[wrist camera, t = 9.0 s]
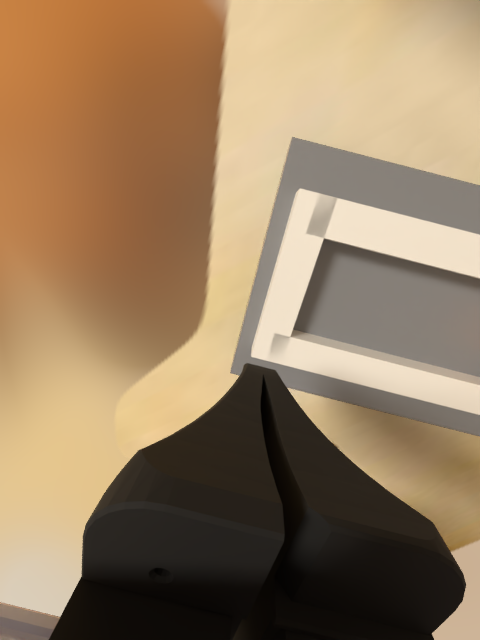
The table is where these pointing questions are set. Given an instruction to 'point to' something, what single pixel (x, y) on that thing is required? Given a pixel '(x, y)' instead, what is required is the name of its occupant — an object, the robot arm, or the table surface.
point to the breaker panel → (370, 287)
